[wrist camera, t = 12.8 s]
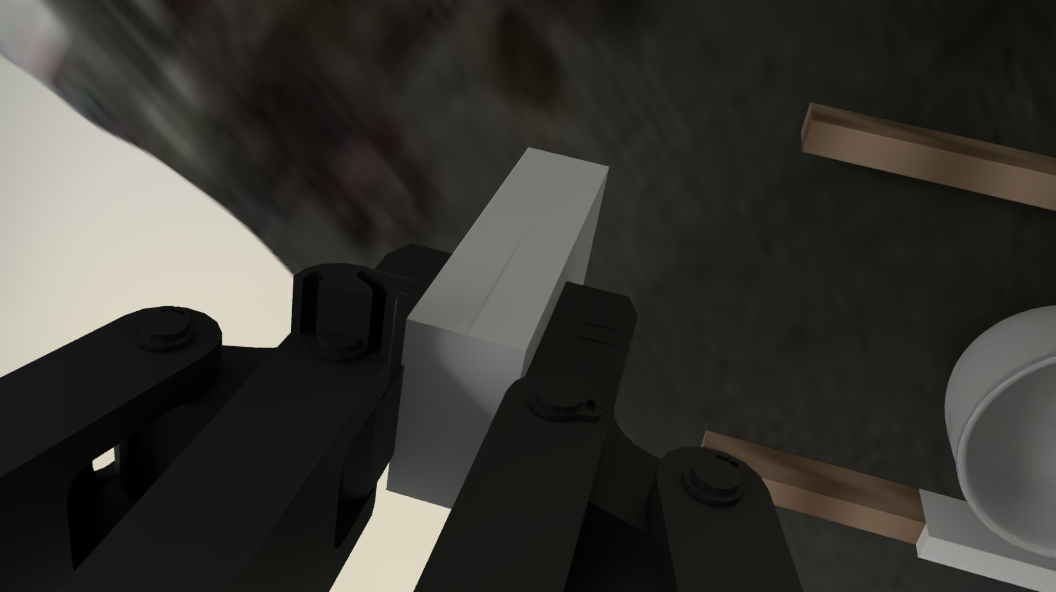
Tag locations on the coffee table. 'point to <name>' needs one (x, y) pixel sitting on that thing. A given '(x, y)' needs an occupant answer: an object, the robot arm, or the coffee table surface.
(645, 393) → the coffee table surface
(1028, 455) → the teacup
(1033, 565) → the grey u-shaped frame
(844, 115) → the slot rails
